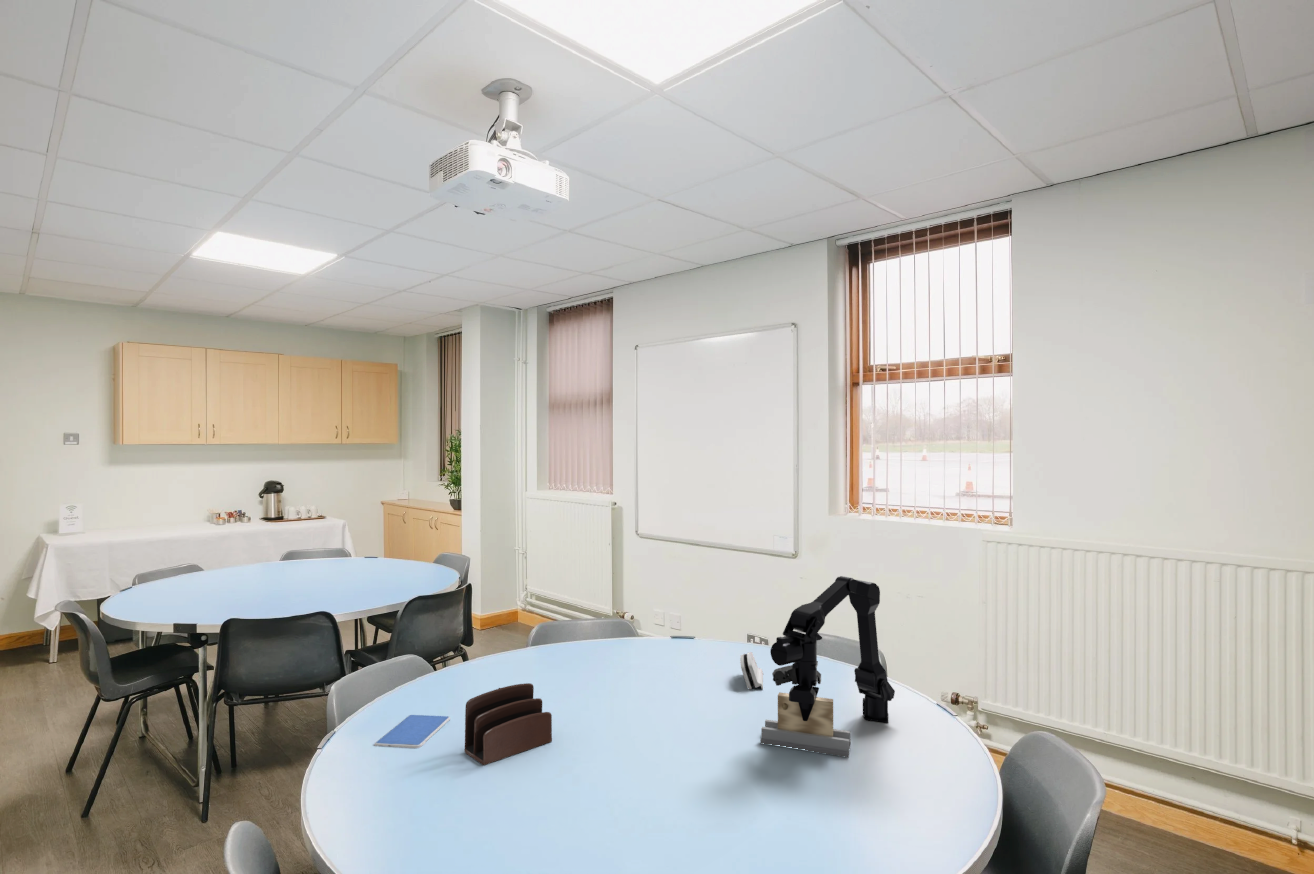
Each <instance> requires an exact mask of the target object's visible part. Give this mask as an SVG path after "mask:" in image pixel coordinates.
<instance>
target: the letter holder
mask: <svg viewBox="0 0 1314 874" xmlns="http://www.w3.org/2000/svg"><path fill="white" fill-rule="evenodd" d="M534 690H535V689H534V685H533V683H528V682H526V683H519V684H513V685H507V686H504V687H499V688H496V689H493V690H490V691H487V692H483V693H481V694H479V695H476V696H474V697H472V698H470V699H468V700H467V701H466V703H465V710H464V711H465V712H464V713H465V714H464V717H465V718H464V721H465V723H464V729H465V730H464V750H463V751H464V753H465V754H466V755H468V756H469V758H472V759H473V760H474V761H476V762H477V763H479V764H481V765H482V766H486V765H488V764H493V763H495V762H498V761H500V760H501V761H502V760H504V759H506V758H509V757H512V756H515V755H517V754H521V753H524V752H526V751H529V750H533V749H535V748H539V747H541V746H543V745H547V744H550V743H552V741H553V738H552V737H553V736H552V734H553V733H552V732H553V729H552V728H553V727H552V725H553V723H552V722H553V721H552V720H553V719H552V716H553V715H552V713H551V712H549V711H543V699H542V698H539V697H538V698H534Z"/></svg>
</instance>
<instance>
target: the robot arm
mask: <svg viewBox="0 0 1314 874" xmlns="http://www.w3.org/2000/svg"><path fill="white" fill-rule="evenodd" d="M847 597H848V598H849V602H850V604H851V606H852V608H853V609H854V611H855V612H856V616H857V617H856V619H857V632H858V642H859V653H860V663H859V664H858V665H857V667H854V675H855V676H854V677H855V679H854V683H856V685H857V689H858V693H859V694H863V695H864V697H863V698H862V715H863V716H864V717H863V719H864V720H866V721H872V722H881V723H889V702H891V701H892V699H894V697H895V692H896V690H895V689H894V687H893V686H892V685H891V684H890V682H889V680H888V675H887V672H886V669H885V668H884V666H883V665H882V663H881V661H880V658H879V657H880V656H879V644H878V643H879V642H878V635H877V634H878V633H877V632H878V631H877V621H876V611H877V608H878V607H879V606H880V602H881V590H880V586H879V585H877V583H875V582H871V581H865V580H860V579H854V578H853V577H848V576H843V575H840V576H837V577H836V578H835V580H834V582H832V584H830V585H829V587H827V588H826V589H825V590H824V591H823V592H822V593H821V594H820V595H818V596H817V597H816V598H815V599H814V600H812V601H811V602H809V603H805V604H801V605H800V606H798V607H796V608H795V609H794V610H793V611H792V612H791V614H790V617H789V619H788V621H787V623H786V625H785V627H784V629H783V632H782V636H777V637H776V641H775V642H774V643H773V644H772V645H771V647H770V657H771V660H772V661H773V663H775V665H777V666H780V667H778V668H775V669H774V670H773V671H772V677H773V678H772V681H773V682H774V683H775V686H782V685H784V684H787V683H791V684H792V685H793V686H792V687H791V688H790V689H789V693H788V694H789V701H791V702H798V703H799V706H800V710H801V714H802V718H803V721H808V718H809V715H810V713H811V710H812V708H813V705H814V703H815V700H816V697H818V693H819V691H820V687H818V686H817V684H818V685H821V684H822V683H821V682H822V673H820V672H819V671H818V665H819V663H818V662H819V661H818V659H817V658H818V657H817V655H818V649H817V648H818V647H817V646H818V644H817V643H818V641H822V640H823V636H821V635H820V634H819V633H818V632H820V630H821V629H822V627H823V626H824V625H825V623H826V617H827V616H828V614H829V613H831V612H832V611H833V610H834V609H835V608H836V607H837V606H838V605H839V604H840V603H842V602H843V601H844V599H845V598H847ZM784 665H785V666H784Z"/></svg>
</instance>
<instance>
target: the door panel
mask: <svg viewBox="0 0 1314 874" xmlns="http://www.w3.org/2000/svg"><path fill="white" fill-rule="evenodd" d="M777 721H778V729H782V730H789V731H796V732H803V733H809V734H816V735H823V736H830V737H833V729H834V698H827V697H820V696H817V697H816V700H815V703H814V705H813V708H812V710H811V713H810V715H809V718H808V721H803V718H802V714H801V710H800V706H799V703H798V702H791V701H789V693H786V692H781V691H780V692H778V694H777Z"/></svg>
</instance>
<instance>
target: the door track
mask: <svg viewBox="0 0 1314 874" xmlns="http://www.w3.org/2000/svg"><path fill="white" fill-rule="evenodd" d="M760 736H761V738H760V744H761V743H764V744H772V745H780V746H786V747H792V748H798V749H805V750H808V751H807V752H809V751H814V752H813V753H816V752H819V753H818V754H822V753H826V754H825V755H829V754H833V755H832V756H835V755H839V756H838V757H842V756H845V757H844V758H849V755H850V750H849V749H851V741H852V740H851V731H850V730H842V729H838V728H837V729H836V728H833V737H830V736H823V735H816V734H809V733H803V732H796V731H789V730H782V729H778V720H773V719H765V721H764V726H761V735H760ZM764 744H763V745H764Z"/></svg>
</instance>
